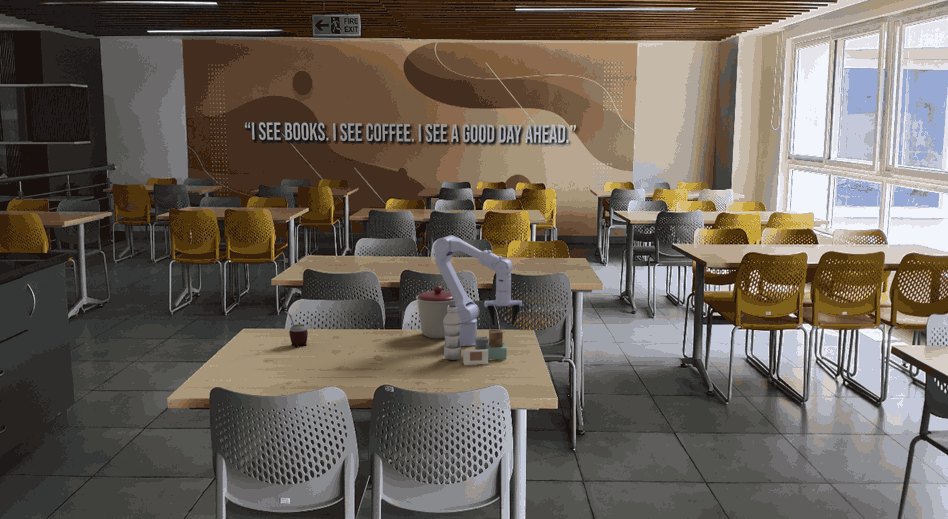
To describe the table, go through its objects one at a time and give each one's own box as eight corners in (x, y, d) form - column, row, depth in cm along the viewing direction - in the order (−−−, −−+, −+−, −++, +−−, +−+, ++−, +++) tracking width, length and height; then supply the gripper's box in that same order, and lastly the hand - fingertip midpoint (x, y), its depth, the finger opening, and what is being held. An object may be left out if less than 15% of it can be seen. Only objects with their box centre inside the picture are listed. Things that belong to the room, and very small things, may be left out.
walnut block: (490, 347, 265) (490, 332, 264) (489, 344, 269) (489, 329, 268) (502, 346, 265) (502, 332, 264) (500, 343, 270) (500, 329, 269)
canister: (409, 339, 290) (409, 288, 287) (425, 328, 307) (425, 280, 304) (451, 343, 285) (451, 291, 282) (465, 331, 302) (465, 283, 299)
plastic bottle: (459, 362, 261) (459, 309, 257) (441, 361, 262) (441, 308, 259) (463, 357, 267) (463, 305, 263) (445, 356, 268) (445, 304, 265)
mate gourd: (310, 343, 284) (309, 306, 282) (303, 349, 277) (302, 311, 274) (292, 342, 285) (290, 306, 283) (285, 348, 277) (283, 310, 275)
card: (464, 365, 257) (464, 351, 257) (463, 362, 260) (463, 349, 260) (488, 364, 259) (488, 351, 258) (487, 361, 261) (487, 348, 261)
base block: (487, 360, 264) (487, 348, 263) (485, 354, 271) (485, 343, 270) (506, 359, 265) (506, 348, 264) (504, 354, 272) (504, 342, 271)
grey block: (476, 354, 271) (476, 340, 270) (475, 351, 275) (475, 336, 274) (488, 353, 271) (488, 339, 270) (486, 350, 276) (486, 336, 275)
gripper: (486, 292, 271) (485, 327, 273) (523, 292, 272) (523, 326, 274) (483, 288, 278) (483, 322, 280) (520, 288, 279) (520, 321, 281)
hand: (503, 324), depth 278 cm, fingers open, 7 cm apart
